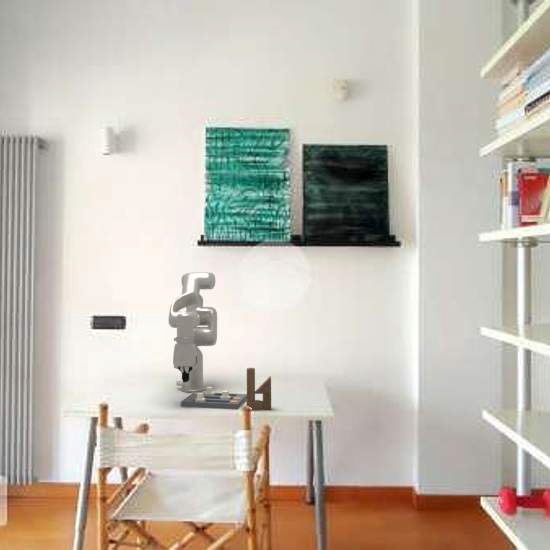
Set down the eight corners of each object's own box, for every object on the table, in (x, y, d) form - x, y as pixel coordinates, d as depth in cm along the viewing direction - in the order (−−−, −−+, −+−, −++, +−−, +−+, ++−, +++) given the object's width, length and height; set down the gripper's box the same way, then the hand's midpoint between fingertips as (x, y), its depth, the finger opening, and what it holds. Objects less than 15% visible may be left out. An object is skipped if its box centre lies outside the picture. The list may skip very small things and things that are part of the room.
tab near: (194, 404, 249) (194, 394, 249) (197, 402, 252) (197, 392, 252) (203, 404, 249) (203, 394, 248) (205, 402, 252) (205, 392, 252)
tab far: (204, 397, 261) (204, 388, 261) (206, 395, 264) (206, 386, 264) (212, 397, 260) (212, 388, 260) (214, 396, 263) (214, 386, 263)
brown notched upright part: (271, 410, 243) (271, 368, 243) (246, 410, 242) (246, 369, 242) (270, 407, 247) (270, 367, 246) (246, 408, 246) (246, 367, 246)
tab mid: (220, 401, 253) (220, 391, 253) (222, 399, 256) (222, 390, 256) (228, 402, 253) (228, 392, 252) (230, 400, 256) (230, 390, 256)
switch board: (181, 406, 249) (180, 400, 249) (194, 397, 267) (194, 391, 267) (237, 409, 244) (237, 403, 244) (247, 399, 262) (247, 393, 262)
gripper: (166, 341, 248) (166, 382, 248) (198, 341, 246) (198, 383, 246) (172, 339, 256) (172, 379, 256) (203, 339, 253) (204, 380, 253)
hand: (185, 381), depth 251 cm, fingers closed
